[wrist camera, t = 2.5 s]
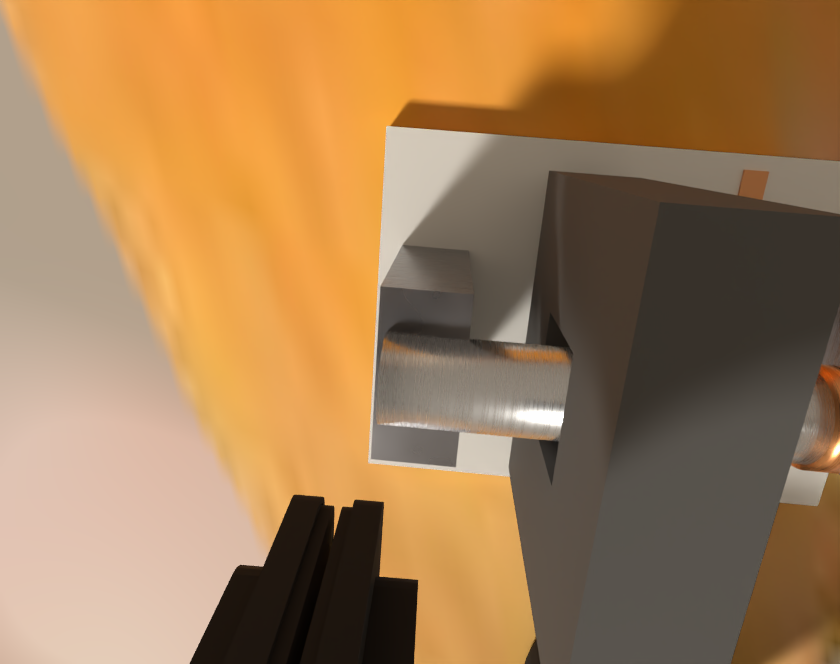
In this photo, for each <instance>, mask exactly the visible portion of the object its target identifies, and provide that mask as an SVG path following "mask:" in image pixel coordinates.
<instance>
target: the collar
mask: <svg viewBox="0 0 840 664" xmlns="http://www.w3.org/2000/svg"><path fill="white" fill-rule="evenodd" d="M839 305H840V214H837V213H831V212H826V211H820V210H815V209H809V208H804V207H798V206H793V205H787V204H782V203H776V202H771V201H765V200H760V199H755V198H749V197H744V196H738V195H733V194H727V193H722V192H716V191H711V190H705V189H700V188H694V187H689V186H683V185H678V184H672V183H667V182H661V181H656V180H650V179H645V178H637V177H624V176H611V175H599V174H586V173H574V172H561V171H549V175H548V182H547V189H546V196H545V204H544V211H543V218H542V226H541V233H540V240H539V248H538V255H537V262H536V269H535V277H534V284H533V291H532V299H531V306H530V313H529V321H528V328H527V335H526V342H525V344H536V345H547V346H558V347H570V348H571V350H572V352H573V360H572V366H571V372H570V378H569V384H568V390H567V396H566V402H565V408H564V414H563V420H562V427H561V433H560V439H559V441H548V440H538V439H527V438H517V437H512V445H511V452H510V459H509V467H508V468H509V474H510V480H511V486H512V492H513V498H514V504H515V510H516V517H517V523H518V529H519V535H520V541H521V547H522V553H523V559H524V566H525V572H526V578H527V584H528V590H529V596H530V602H531V608H532V615H533V621H534V627H535V633H536V639H537V645H538V651H539V657H540V664H731V661H732V658H733V654H734V651H735V648H736V644H737V641H738V638H739V634H740V631H741V628H742V625H743V621H744V618H745V615H746V611H747V608H748V605H749V601H750V598H751V595H752V592H753V588H754V585H755V582H756V578H757V575H758V572H759V568H760V565H761V562H762V559H763V555H764V552H765V549H766V545H767V542H768V539H769V536H770V532H771V529H772V526H773V522H774V519H775V516H776V512H777V509H778V506H779V503H780V499H781V496H782V493H783V489H784V486H785V483H786V479H787V476H788V473H789V470H790V466H791V463H792V460H793V456H794V453H795V450H796V446H797V443H798V440H799V437H800V433H801V430H802V427H803V423H804V420H805V417H806V414H807V410H808V407H809V404H810V400H811V397H812V394H813V390H814V387H815V384H816V381H817V377H818V374H819V371H820V367H821V364H822V361H823V357H824V354H825V351H826V348H827V344H828V341H829V338H830V334H831V331H832V328H833V324H834V321H835V318H836V315H837V311H838V308H839Z"/></svg>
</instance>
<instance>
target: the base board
mask: <svg viewBox="0 0 840 664" xmlns="http://www.w3.org/2000/svg"><path fill="white" fill-rule="evenodd" d="M549 171H561V172H574V173H586V174H599V175H611V176H624V177H637V178H645V179H650V180H656V181H661V182H667V183H672V184H678V185H683V186H689V187H694V188H700V189H705V190H711V191H716V192H722V193H727V194H733V195H738V196H744V197H749V198H755V199H760V200H765V201H771V202H776V203H782V204H787V205H793V206H798V207H804V208H809V209H815V210H820V211H826V212H831V213H837V214H840V161H830V160H817V159H804V158H791V157H779V156H766V155H753V154H740V153H727V152H714V151H702V150H689V149H676V148H663V147H650V146H637V145H624V144H612V143H599V142H586V141H573V140H560V139H547V138H535V137H522V136H509V135H496V134H483V133H470V132H457V131H445V130H432V129H419V128H406V127H393V126H387V127H386V145H385V164H384V182H383V200H382V219H381V237H380V256H379V274H378V293H377V311H376V330H375V348H374V367H373V385H372V404H371V422H370V441H369V459H368V463H374V464H384V465H394V466H405V467H415V468H425V469H436V470H446V471H457V472H467V473H477V474H488V475H498V476H509V477H510V474H509V468H508V467H509V459H510V452H511V445H512V437H506V436H495V435H485V434H474V433H463V432H460V433H459V442H458V452H457V461H456V467H448V466H437V465H427V464H416V463H406V462H396V461H385V460H375V459H371V447H372V429H373V411H374V392H375V374H376V356H377V338H378V320H379V302H380V286H381V284H382V282H383V280H384V279H385V277H386V275H387V273H388V271H389V269H390V267H391V265H392V263H393V262H394V260H395V258H396V256H397V254H398V252H399V250H400V248H401V246H402V245H409V246H421V247H432V248H444V249H456V250H468V251H469V256H470V265H471V273H472V281H473V289H474V301H473V310H472V320H471V329H470V339H480V340H491V341H502V342H513V343H525V342H526V335H527V328H528V321H529V313H530V306H531V299H532V291H533V284H534V277H535V269H536V262H537V255H538V248H539V240H540V233H541V226H542V218H543V211H544V204H545V196H546V189H547V182H548V175H549ZM828 474H829V473H825V472H815V471H805V470H800V469H797V468H795V467H793V466H792V465H791V466H790V470H789V473H788V476H787V479H786V483H785V486H784V489H783V493H782V496H781V499H780V503H789V504H799V505H810V506H818V504H819V501H820V498H821V495H822V492H823V489H824V486H825V483H826V480H827V477H828Z"/></svg>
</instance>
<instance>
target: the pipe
mask: <svg viewBox="0 0 840 664" xmlns="http://www.w3.org/2000/svg"><path fill="white" fill-rule="evenodd" d="M473 301H474V289H473V281H472V273H471V265H470V256H469V251H468V250H456V249H444V248H432V247H421V246H409V245H402V246H401V248H400V250H399V252H398V254H397V256H396V258H395V260H394V262H393V263H392V265H391V267H390V269H389V271H388V273H387V275H386V277H385V279H384V280H383V282H382V284H381V286H380V302H379V320H378V338H377V356H376V374H375V392H374V411H373V429H372V447H371V459H375V460H385V461H396V462H406V463H416V464H427V465H437V466H448V467H456V461H457V452H458V442H459V433H460V432H463V433H474V434H485V435H495V436H506V437H517V438H527V439H538V440H548V441H559V439H560V433H561V427H562V420H563V414H564V408H565V402H566V396H567V390H568V384H569V378H570V372H571V366H572V360H573V352H572V350H571V348H570V347H558V346H547V345H536V344H525V343H513V342H502V341H491V340H480V339H470V329H471V320H472V310H473ZM791 465H792V466H793V467H795V468H797V469H800V470H805V471H815V472H825V473H836V474H840V305H839V308H838V311H837V315H836V318H835V321H834V324H833V328H832V331H831V334H830V338H829V341H828V344H827V348H826V351H825V354H824V357H823V361H822V364H821V367H820V371H819V374H818V377H817V381H816V384H815V387H814V390H813V394H812V397H811V400H810V404H809V407H808V410H807V414H806V417H805V420H804V423H803V427H802V430H801V433H800V437H799V440H798V443H797V446H796V450H795V453H794V456H793V460H792V463H791Z"/></svg>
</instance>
